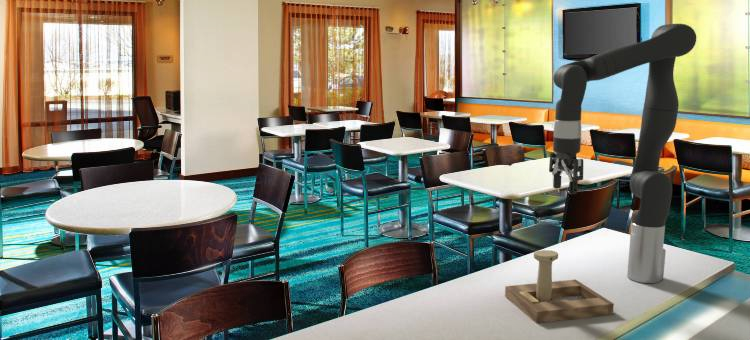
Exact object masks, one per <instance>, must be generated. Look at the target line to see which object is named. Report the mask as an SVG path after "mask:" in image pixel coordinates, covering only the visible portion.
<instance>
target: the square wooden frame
mask: <svg viewBox="0 0 750 340" xmlns="http://www.w3.org/2000/svg"><path fill="white" fill-rule="evenodd" d="M536 288H537V282H535V283H525V284H513V285H506V286H505V290H504V297H505V298H506V299H507V300H508V301H510V302H511V303H512V304H514V305H515V307H517V308H518V310H520V311H521V312H523V313H524V315H526V316H527V317H529V319H531V320H532V321H533V322H534V323H536V324H540V323H550V322H549V321H551V322H558V321H557V320H560V321H567V320H568V319H569V320H575V319H583V318H584V319H585V317H586V318H593V316H595V317H602V315H604V316H610V315H609V314H613V315H614V307H615V306H614V305H615V304H614V303H613V302H612V301H610V300H608V299H607V298H606V297H604V296H602V295H601V294H599V293H598V292H596V291H595V290H593V289H592V288H590V287H588V286H587V285H585V284H584V283H582V282H580V281H579V280H578V279H567V280H566V279H565V280H559V281H558V280H555V281H552V293H551V299H550V301H548V302H539V301H538V300H537V294H536V293H537V292H536ZM580 296H581V297H580ZM560 297H561V298H569V297H580V298H581V299H573V300H568V299H560ZM583 298H584V299H583ZM553 299H559V300H553Z"/></svg>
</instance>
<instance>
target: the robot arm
mask: <svg viewBox="0 0 750 340" xmlns="http://www.w3.org/2000/svg"><path fill="white" fill-rule="evenodd" d="M696 43H697V33H696V31H695V29H693V27H692V26H690V25H688V24H684V23H671V24H668V23H667V24H663V25H660V26H658V27H657V28H656V29H655V30H654V31H653V32H652V34H651V38H648V39H646V40H644V41H643V40H642V41H641V42H636V43H633V44H629V45H624V46H620V47H616V48H613V49H609V50H607V51H603V52H601V53H598V54H596V55H593V56H590V57H589V58H585V59H581V60H576V61H572V62H569V63H565V64H563V65H561V66H559V67H558V68H557V69H556V70H555V71H554V74H553V78H552V79H553V83H554V85H555V86H556V87H557V88H559V89H561V95H560V98H559V100H557V102H556V105H555V116H554V118H555V119H554V125H553V126H554V127H553V143H552V144H553V145H552V151H553V152H550V153H549V165H548V166H549V167H548V171H549V173H551V174H552V176H553V180H552V182H553V183H552V184H553V185H552V187H553V189H561V187H562V174H563V171H564V172H565V175H567V176H568V179H569V181H568V183H569V184H568V187H569V188H568V194H569V195H577V194H578V185H579V184H578V183H579V181H583V180H584V159H583V158H577V154H578V153H580V152H581V149H582V148H581V147H582V146H581V144H582V143H581V142H582V103H583V101H584V97H585V94H586V90H587V85H588V82H593V81H601V80H604V79H607V78H610V77H612V76H615V75H618V74H620V73H623V72H627V71H628V70H631V69H634V68H637V67H640V66H643V65H646V64H648V75H647V76H648V77H647V83H646V90H645V96H644V97H645V98H644V102H643V108H642V116H641V124H640V129H639V130H640V131H639V137H638V143H637V151H636V154H635V159H634V163H633V166H632V171H631V174H630V178H629V188H630V189H629V190H630V191H631V193H632V194H633V195H634V196H635V197H637V198H638V199H640V202H639V208H638V210H635V211H633V212H632V214H631V221H630V223H631V225H630V237H629V247H628V248H629V249H628V250H629V251H628V261H627V274H626V276H627V277H626V278H628V279H629V280H632V281H634V282H637V283H642V284H656V283H659V282H660V281H664V275H665V264H666V252H667V251H666V248H664V242H665V230H666V221H667V219H668V217H669V215H670V210H671V205H672V204H671V202H672V197H673V183H672V179H671V178H670V177H669V176H668V175H667V174H665V173H663V172H660V171H659V170H660V169H659V168H660V161H661V154H662V152H663V150H664V148H665V146H666V144H667V143H668V141H669V140H670V138H671V136H672V135H673V133H674V131H675V128H676V126H677V118H678V114H679V97H678V92H677V88H676V84H675V81H674V79H675V78H674V71H675V70H674V69H675V64H676V58H679V57H683V56H685V55H687V54H689V53H690V52H691V51H692V50H693V49H694V48H695V46H696Z"/></svg>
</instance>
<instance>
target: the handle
mask: <svg viewBox="0 0 750 340" xmlns="http://www.w3.org/2000/svg"><path fill="white" fill-rule="evenodd" d="M533 258H534V259H535V260H536V261H538V270H537V279H536V283H537V288H536V292H537V293H536V294H537V300H538V301H539V302H548V301H551V300H550V299H551V293H552V282H553V277H552V275H553V272H552V271H553V268H552V267H553V263H554V262H555V260H558V259H559V253H558V252H557V251H554V250H550V249H549V250H547V249H546V250H545V249H544V250H537V251H535V252H533Z"/></svg>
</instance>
